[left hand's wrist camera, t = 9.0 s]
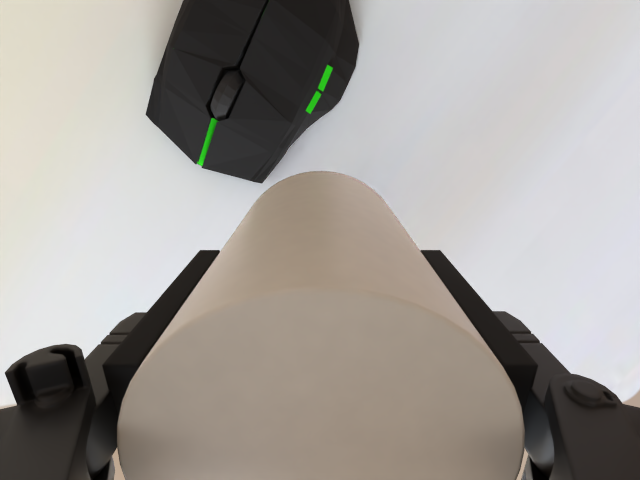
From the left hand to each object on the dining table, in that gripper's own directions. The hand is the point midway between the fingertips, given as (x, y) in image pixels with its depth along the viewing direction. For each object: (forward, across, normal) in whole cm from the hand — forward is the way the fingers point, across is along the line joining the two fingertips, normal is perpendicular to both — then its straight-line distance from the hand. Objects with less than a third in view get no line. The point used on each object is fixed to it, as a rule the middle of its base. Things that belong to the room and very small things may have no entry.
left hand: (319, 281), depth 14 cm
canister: (+3, 0, 0) cm, 3 cm away
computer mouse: (+15, -4, +9) cm, 18 cm away
